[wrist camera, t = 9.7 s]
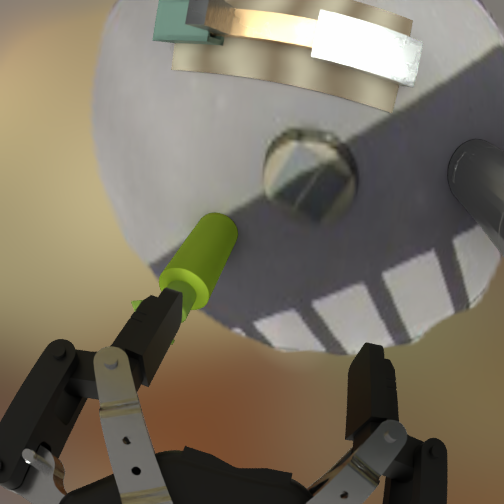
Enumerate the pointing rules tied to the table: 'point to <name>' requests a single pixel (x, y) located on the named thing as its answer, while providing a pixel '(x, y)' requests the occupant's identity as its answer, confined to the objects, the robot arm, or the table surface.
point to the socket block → (179, 25)
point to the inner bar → (251, 23)
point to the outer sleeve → (366, 48)
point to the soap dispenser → (199, 262)
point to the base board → (296, 54)
